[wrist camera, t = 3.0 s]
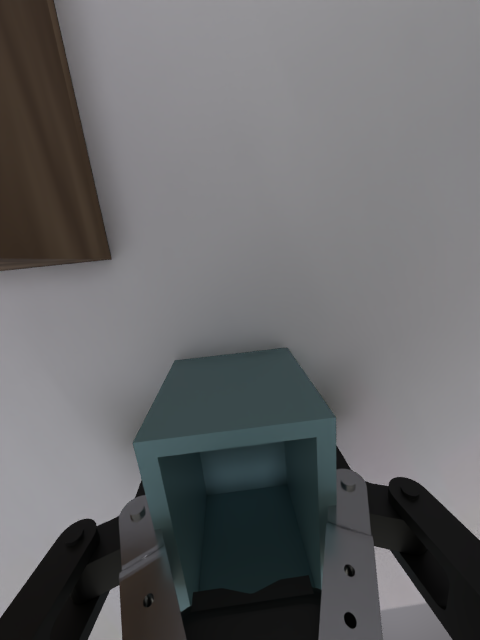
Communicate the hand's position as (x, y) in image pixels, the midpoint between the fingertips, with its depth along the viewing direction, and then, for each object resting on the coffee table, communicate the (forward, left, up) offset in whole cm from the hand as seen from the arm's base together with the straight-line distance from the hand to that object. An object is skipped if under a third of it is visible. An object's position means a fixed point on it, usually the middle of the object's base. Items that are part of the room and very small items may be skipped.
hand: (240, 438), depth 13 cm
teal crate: (0, 0, -1) cm, 1 cm away
